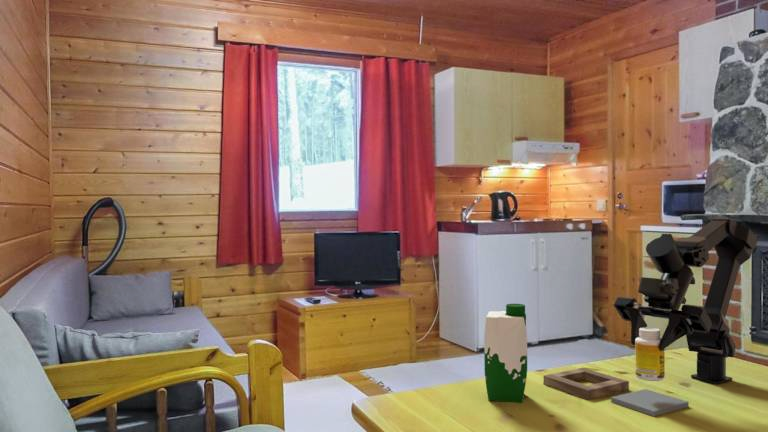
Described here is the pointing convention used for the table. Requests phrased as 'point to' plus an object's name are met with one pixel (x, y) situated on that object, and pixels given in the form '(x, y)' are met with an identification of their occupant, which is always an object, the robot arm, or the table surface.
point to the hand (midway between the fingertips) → (646, 346)
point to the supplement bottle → (649, 355)
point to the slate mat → (650, 402)
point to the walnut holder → (600, 388)
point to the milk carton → (506, 354)
